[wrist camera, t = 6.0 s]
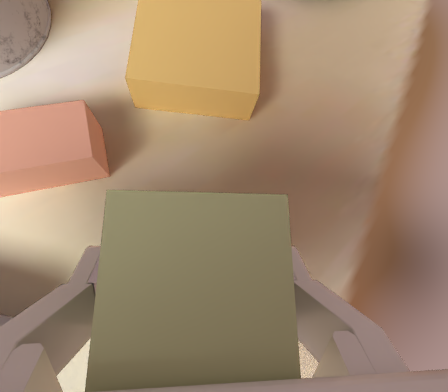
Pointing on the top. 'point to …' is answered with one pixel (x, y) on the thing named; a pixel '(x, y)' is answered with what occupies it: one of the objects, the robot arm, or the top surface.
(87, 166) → the terracotta brick
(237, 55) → the ochre slab
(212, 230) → the olive brick
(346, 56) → the top surface
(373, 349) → the robot arm
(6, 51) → the speckled grey cylinder
